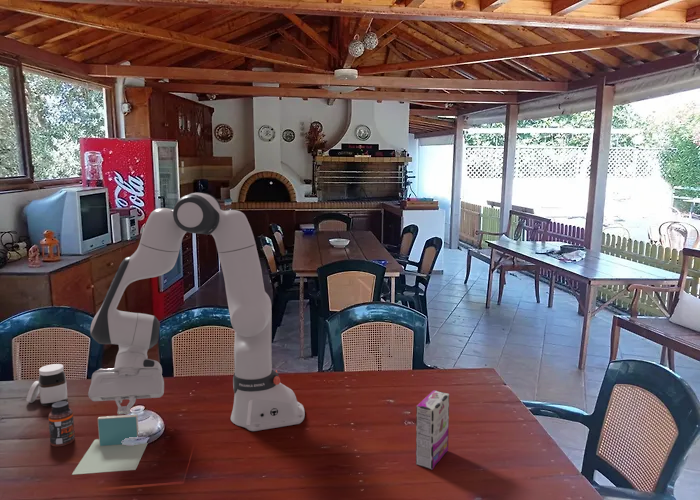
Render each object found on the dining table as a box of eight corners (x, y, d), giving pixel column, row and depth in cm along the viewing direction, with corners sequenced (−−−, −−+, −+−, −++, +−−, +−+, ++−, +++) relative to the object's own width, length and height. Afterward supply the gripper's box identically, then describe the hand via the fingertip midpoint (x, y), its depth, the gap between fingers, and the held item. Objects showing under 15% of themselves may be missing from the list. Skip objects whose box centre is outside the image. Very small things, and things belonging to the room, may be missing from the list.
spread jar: (69, 404, 166) (66, 370, 164) (28, 413, 160) (24, 377, 158) (65, 391, 176) (62, 358, 174) (26, 399, 169) (23, 365, 168)
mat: (151, 437, 146) (151, 435, 146) (135, 471, 129) (135, 469, 129) (94, 441, 143) (94, 439, 143) (71, 476, 127) (71, 474, 127)
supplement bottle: (64, 449, 139) (61, 409, 137) (45, 447, 140) (41, 407, 139) (80, 438, 145) (77, 400, 143) (61, 436, 146) (58, 398, 144)
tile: (139, 441, 142) (137, 414, 141) (138, 443, 141) (136, 416, 140) (100, 444, 141) (98, 416, 140) (99, 446, 140) (97, 418, 138)
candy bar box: (431, 445, 142) (433, 389, 139) (448, 450, 139) (450, 393, 137) (414, 464, 132) (415, 404, 130) (432, 470, 130) (434, 409, 127)
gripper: (90, 364, 149) (80, 412, 141) (163, 361, 152) (158, 407, 144) (96, 373, 154) (87, 419, 146) (167, 370, 157) (162, 415, 149)
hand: (123, 413), depth 145 cm, fingers closed
